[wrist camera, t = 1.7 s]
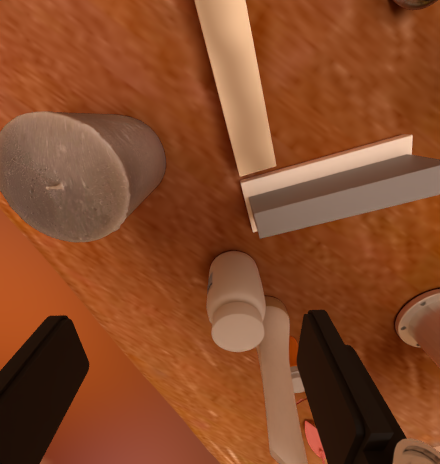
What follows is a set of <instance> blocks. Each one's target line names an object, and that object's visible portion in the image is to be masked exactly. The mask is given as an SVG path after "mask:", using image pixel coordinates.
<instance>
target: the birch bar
mask: <svg viewBox="0 0 440 464" xmlns="http://www.w3.org/2000/svg"><path fill="white" fill-rule="evenodd" d="M194 2H195V6H196V10H197V14H198V18H199V21H200V25H201V29H202V33H203V37H204V41H205V45H206V49H207V52H208V56H209V60H210V64H211V68H212V72H213V76H214V80H215V84H216V87H217V91H218V95H219V99H220V103H221V107H222V111H223V115H224V119H225V122H226V126H227V130H228V134H229V138H230V142H231V146H232V150H233V154H234V157H235V161H236V165H237V169H238V172H239V175H240V177H241V176H244V175H248V174H251V173H254V172H258V171H261V170H265V169H268V168H272V167H275V166H276V161H275V156H274V151H273V145H272V140H271V135H270V129H269V124H268V119H267V113H266V108H265V103H264V97H263V92H262V87H261V81H260V76H259V71H258V65H257V60H256V55H255V49H254V44H253V39H252V33H251V28H250V23H249V17H248V12H247V6H246V1H245V0H194Z"/></svg>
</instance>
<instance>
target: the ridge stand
mask: <svg viewBox="0 0 440 464" xmlns="http://www.w3.org/2000/svg"><path fill="white" fill-rule="evenodd" d="M412 138H413V135H404V134H403V135H400V136H396V137H393V138H389V139H385V140H382V141H378V142H375V143H371V144H368V145H364V146H361V147H357V148H353V149H350V150H346V151H343V152H339V153H336V154H332V155H329V156H325V157H322V158H318V159H314V160H311V161H307V162H304V163H300V164H297V165H293V166H290V167H286V168H282V169H279V170H275V171H272V172H268V173H265V174H261V175H258V176H254V177H250V178H247V179H243V180H240V183H241V187H242V191H243V195H244V199H245V203H246V207H247V211H248V215H249V219H250V223H251V227H252V230H253V232H257V231H258V234H259V237H260V239H261V238H265V237H269V236H273V235H277V234H281V233H285V232H289V231H293V230H297V229H301V228H305V227H310V226H314V225H318V224H322V223H326V222H330V221H334V220H338V219H342V218H346V217H350V216H354V215H358V214H362V213H366V212H370V211H374V210H379V209H383V208H387V207H391V206H395V205H399V204H403V203H407V202H411V201H415V200H419V199H423V198H427V197H431V196H435V195H439V194H440V160H439V159H433V158H427V157H421V156H415V155H412Z"/></svg>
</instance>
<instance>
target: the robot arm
mask: <svg viewBox="0 0 440 464" xmlns="http://www.w3.org/2000/svg"><path fill="white" fill-rule="evenodd" d="M395 329H396V332H397V334H398V336H399V337H400V338H401V339H402V340H403V341H404V342H405V343H407V344H409V345H411V346H414V347H420V348H422V349H423V350H424V351H425V352H426V353H427V355H428V356H429V357H430V358H431V359H432V360H433V361H434V362H435V364H436V365H437V366H438V367H439V368H440V289H436V290H432V291H429V292H426V293H424V294H422V295H419V296H418V297H416V298H414V299H413V300H411V301H410V302H409V303H408V304H406V305H405V306H404V307H403V309H402V310H401V311H400V313H399V314H398V316H397V319H396V321H395ZM296 360H297V367H298V371H299V374H300V377H301V380H302V383H303V387H304V390H305V393H306V396H307V399H308V402H309V406H310V409H311V412H312V415H313V418H314V421H315V425H316V428H317V431H318V434H319V437H320V440H321V444H322V447H323V450H324V453H325V456H326V459H327V462H328V464H440V452H438V451H437V450H436V449H434V448H433V447H432V446H430V445H428V444H426V443H424V442H422V441H420V440H416V439H411V438H409V439H407V438H406V436H405V435H404V433H403V431H402V429H401V428H400V426H399V424H398V423H397V421H396V419H395V418H394V416H393V414H392V412H391V411H390V409H389V407H388V406H387V404H386V402H385V401H384V399H383V397H382V396H381V394H380V392H379V390H378V389H377V387H376V385H375V384H374V382H373V380H372V379H371V377H370V375H369V373H368V372H367V370H366V368H365V367H364V365H363V363H362V362H361V360H360V358H359V357H358V355H357V353H356V352H355V350H354V349H353V348H352V347H351V346H350V345H345V344H344V343H343V341H342V339H341V337H340V335H339V334H338V332H337V330H336V328H335V326H334V325H333V323H332V321H331V319H330V317H329V316H328V314H327V312H326V311H325V310H309V311H308V314H304V317H303V323H302V329H301V335H300V341H299V347H298V352H297V359H296ZM88 369H89V361H88V359H87V356H86V354H85V351H84V349H83V347H82V344H81V342H80V339H79V337H78V334H77V332H76V329H75V327H74V324H73V322H72V320H71V319H69V318H68V317H67V316H49V317H47V318H46V319H45V320H44V322H43V323H42V324H41V325H40V326H39V327H38V328H37V330H36V331H35V332H34V333H33V334H32V335H31V337H30V338H29V339H28V340H27V341H26V342H25V343H24V344H23V346H22V347H21V348H20V349H19V350H18V351H17V352H16V353H15V355H14V356H13V357H12V358H11V359H10V360H9V361H8V363H7V364H6V365H5V366H4V367H3V369H1V371H0V464H40V462H41V460H42V458H43V456H44V454H45V452H46V450H47V448H48V447H49V444H50V443H51V441H52V439H53V437H54V435H55V433H56V431H57V429H58V427H59V425H60V424H61V422H62V420H63V417H64V416H65V414H66V412H67V410H68V408H69V406H70V405H71V403H72V401H73V399H74V397H75V395H76V393H77V391H78V389H79V387H80V386H81V384H82V382H83V380H84V378H85V376H86V374H87V372H88Z"/></svg>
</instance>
